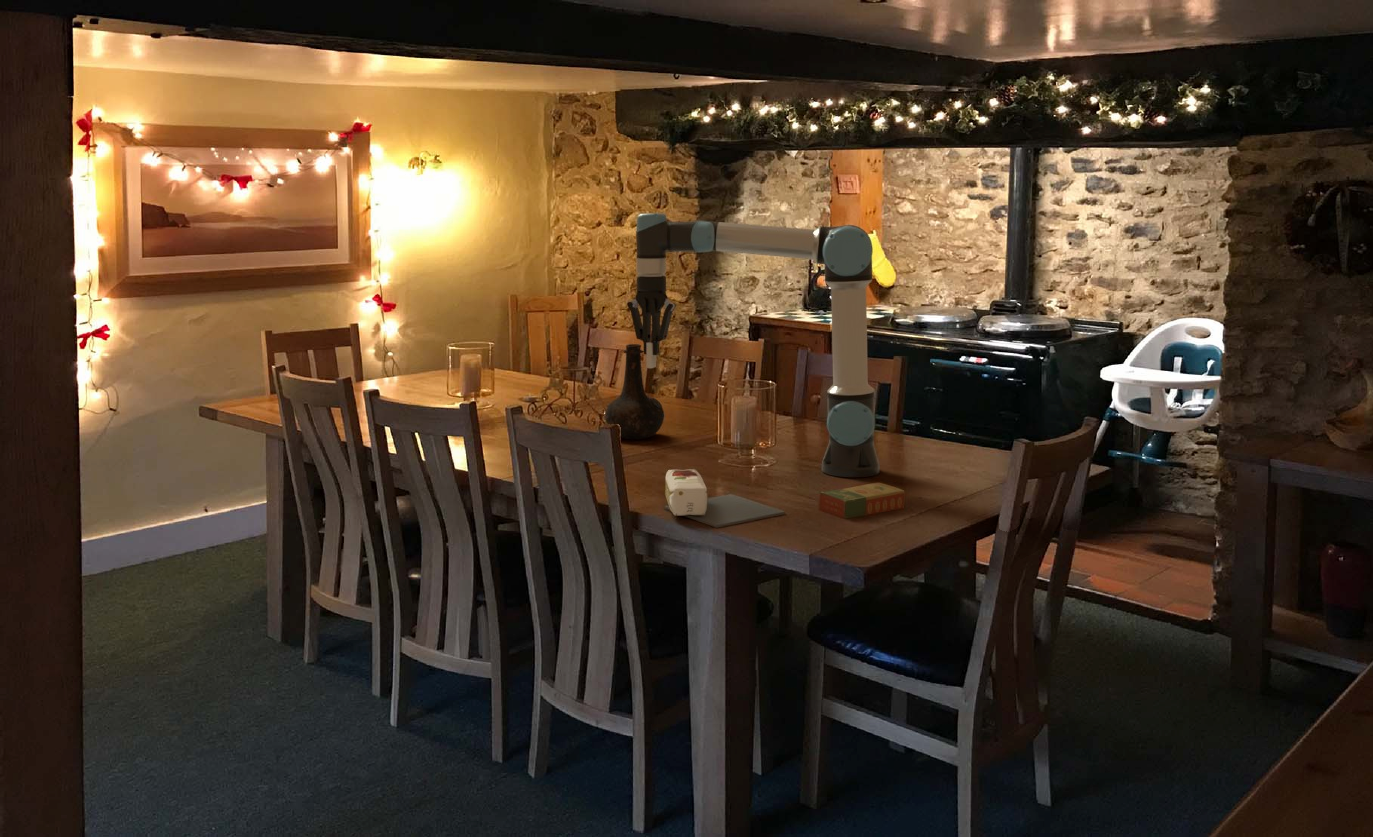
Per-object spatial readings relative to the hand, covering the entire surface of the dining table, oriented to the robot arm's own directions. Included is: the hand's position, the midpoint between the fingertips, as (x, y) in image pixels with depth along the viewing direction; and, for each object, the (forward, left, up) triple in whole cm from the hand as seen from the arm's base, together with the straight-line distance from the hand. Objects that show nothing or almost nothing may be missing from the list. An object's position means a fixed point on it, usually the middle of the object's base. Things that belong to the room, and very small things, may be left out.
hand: (651, 367), depth 308 cm
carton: (-59, +10, -29) cm, 67 cm away
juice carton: (-17, +20, -24) cm, 36 cm away
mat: (-31, +26, -28) cm, 49 cm away
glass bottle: (+26, -43, -29) cm, 58 cm away
